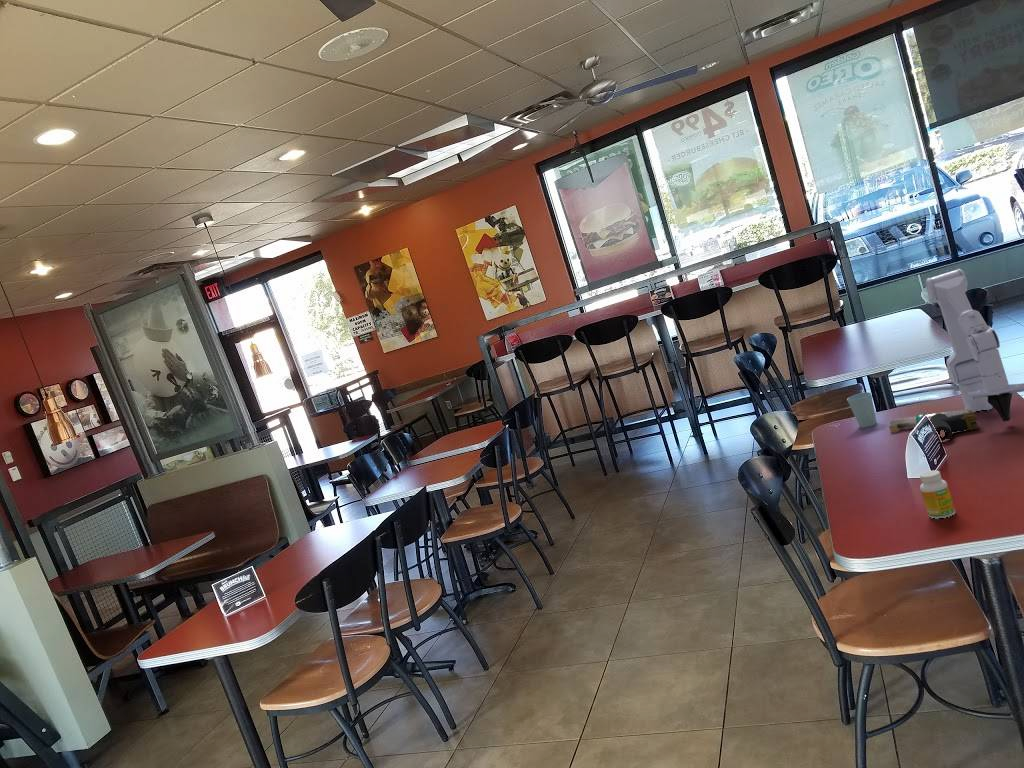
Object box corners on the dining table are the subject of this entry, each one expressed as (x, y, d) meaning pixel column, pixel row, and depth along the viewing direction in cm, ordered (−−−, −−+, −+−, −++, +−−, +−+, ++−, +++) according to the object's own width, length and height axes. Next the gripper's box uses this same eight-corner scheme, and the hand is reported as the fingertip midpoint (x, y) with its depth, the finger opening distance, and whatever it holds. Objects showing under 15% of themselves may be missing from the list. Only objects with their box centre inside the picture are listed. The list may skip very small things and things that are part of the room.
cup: (851, 429, 262) (842, 400, 261) (865, 421, 265) (856, 393, 264) (869, 428, 255) (860, 399, 254) (884, 420, 258) (875, 391, 258)
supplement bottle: (945, 520, 166) (931, 478, 165) (923, 518, 171) (910, 477, 170) (961, 511, 168) (948, 469, 167) (940, 509, 173) (927, 468, 172)
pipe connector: (970, 405, 225) (974, 417, 212) (976, 422, 225) (980, 435, 212) (927, 415, 231) (929, 428, 217) (933, 431, 231) (935, 445, 218)
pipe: (891, 432, 242) (887, 422, 242) (896, 427, 246) (892, 417, 245) (969, 422, 226) (965, 410, 226) (973, 417, 230) (969, 405, 229)
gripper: (959, 382, 213) (974, 428, 214) (1019, 371, 203) (1034, 420, 204) (966, 375, 218) (980, 420, 219) (1025, 365, 208) (1039, 412, 209)
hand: (1006, 420), depth 212 cm, fingers closed
